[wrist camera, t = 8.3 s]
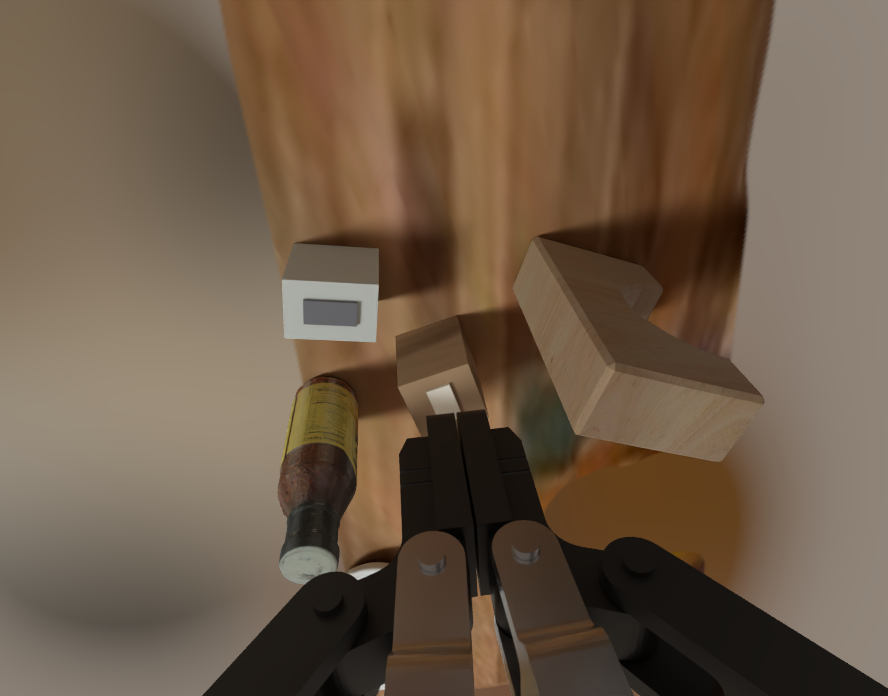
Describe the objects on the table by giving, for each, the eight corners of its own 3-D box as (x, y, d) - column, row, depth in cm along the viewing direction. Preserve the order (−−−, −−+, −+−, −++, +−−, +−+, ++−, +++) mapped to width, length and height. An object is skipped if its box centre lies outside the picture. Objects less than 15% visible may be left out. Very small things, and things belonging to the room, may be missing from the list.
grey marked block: (293, 242, 48) (281, 281, 42) (378, 248, 49) (378, 286, 43) (295, 296, 50) (283, 340, 44) (376, 300, 51) (375, 344, 45)
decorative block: (645, 265, 52) (772, 401, 35) (616, 318, 55) (720, 468, 38) (534, 231, 49) (613, 361, 32) (509, 289, 52) (570, 436, 35)
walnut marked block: (395, 336, 54) (397, 389, 47) (456, 315, 53) (468, 365, 46) (417, 384, 57) (423, 441, 50) (475, 365, 56) (489, 419, 49)
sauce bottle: (335, 432, 59) (316, 611, 42) (281, 403, 56) (239, 581, 40) (373, 390, 57) (370, 562, 40) (319, 358, 54) (292, 527, 37)
